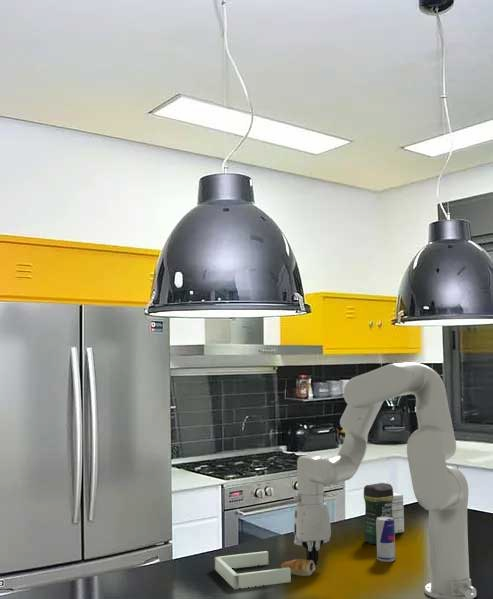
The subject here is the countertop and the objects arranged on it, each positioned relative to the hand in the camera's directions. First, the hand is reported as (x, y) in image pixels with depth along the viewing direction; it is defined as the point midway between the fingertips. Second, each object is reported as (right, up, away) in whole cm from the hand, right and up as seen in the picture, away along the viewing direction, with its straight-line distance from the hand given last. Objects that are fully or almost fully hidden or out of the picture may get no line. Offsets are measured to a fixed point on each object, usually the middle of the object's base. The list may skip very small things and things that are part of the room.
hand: (312, 563), depth 203 cm
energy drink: (+23, -1, +6) cm, 23 cm away
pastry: (-4, -1, -4) cm, 6 cm away
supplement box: (+30, -4, +40) cm, 50 cm away
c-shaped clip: (-18, -1, -6) cm, 19 cm away
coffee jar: (+24, -3, +26) cm, 36 cm away
